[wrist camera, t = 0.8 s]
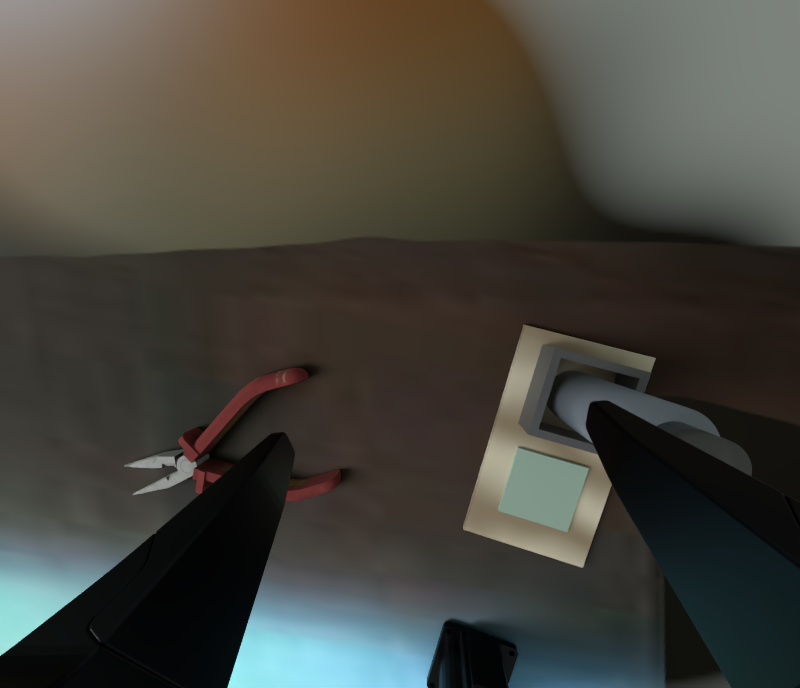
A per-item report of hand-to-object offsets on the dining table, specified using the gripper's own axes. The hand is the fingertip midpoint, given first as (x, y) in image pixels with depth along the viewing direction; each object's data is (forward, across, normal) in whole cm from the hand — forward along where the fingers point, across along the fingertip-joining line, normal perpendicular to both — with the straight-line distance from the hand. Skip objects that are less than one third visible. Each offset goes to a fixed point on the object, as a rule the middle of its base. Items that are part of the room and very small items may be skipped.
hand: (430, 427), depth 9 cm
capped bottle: (+12, -11, +11) cm, 19 cm away
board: (+11, -9, +14) cm, 20 cm away
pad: (+9, -8, +17) cm, 21 cm away
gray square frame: (+12, -11, +11) cm, 19 cm away
